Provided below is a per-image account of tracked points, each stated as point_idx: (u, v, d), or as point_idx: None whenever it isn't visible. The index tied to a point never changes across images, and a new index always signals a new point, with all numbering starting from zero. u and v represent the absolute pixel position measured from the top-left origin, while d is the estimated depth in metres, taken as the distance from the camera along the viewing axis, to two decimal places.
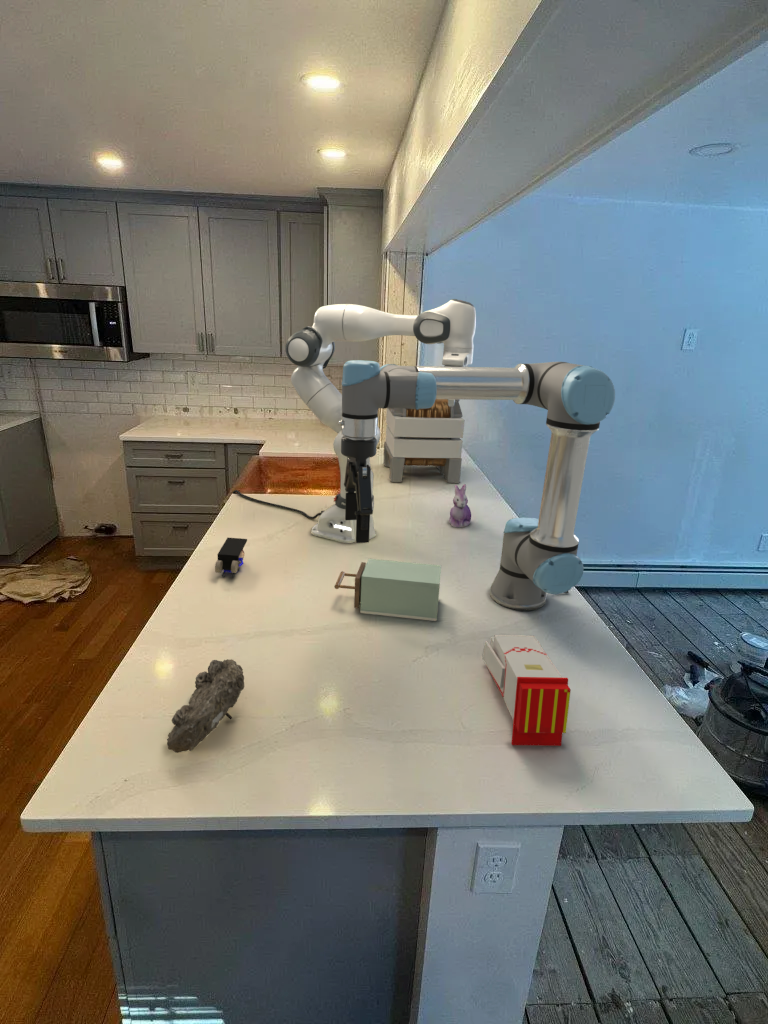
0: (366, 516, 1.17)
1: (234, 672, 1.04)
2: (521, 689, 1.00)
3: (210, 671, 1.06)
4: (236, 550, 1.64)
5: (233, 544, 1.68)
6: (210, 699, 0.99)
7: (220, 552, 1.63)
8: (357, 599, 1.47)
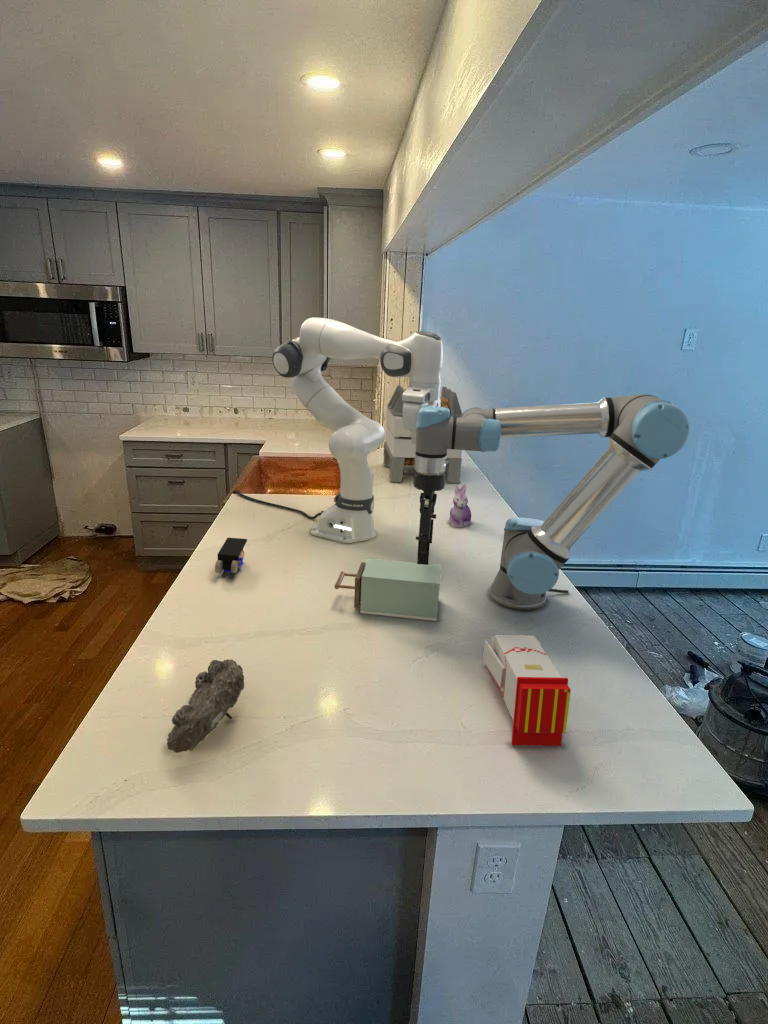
0: None
1: (234, 672, 1.04)
2: (521, 689, 1.00)
3: (210, 671, 1.06)
4: (236, 550, 1.64)
5: (233, 544, 1.68)
6: (210, 699, 0.99)
7: (220, 552, 1.63)
8: (357, 599, 1.47)
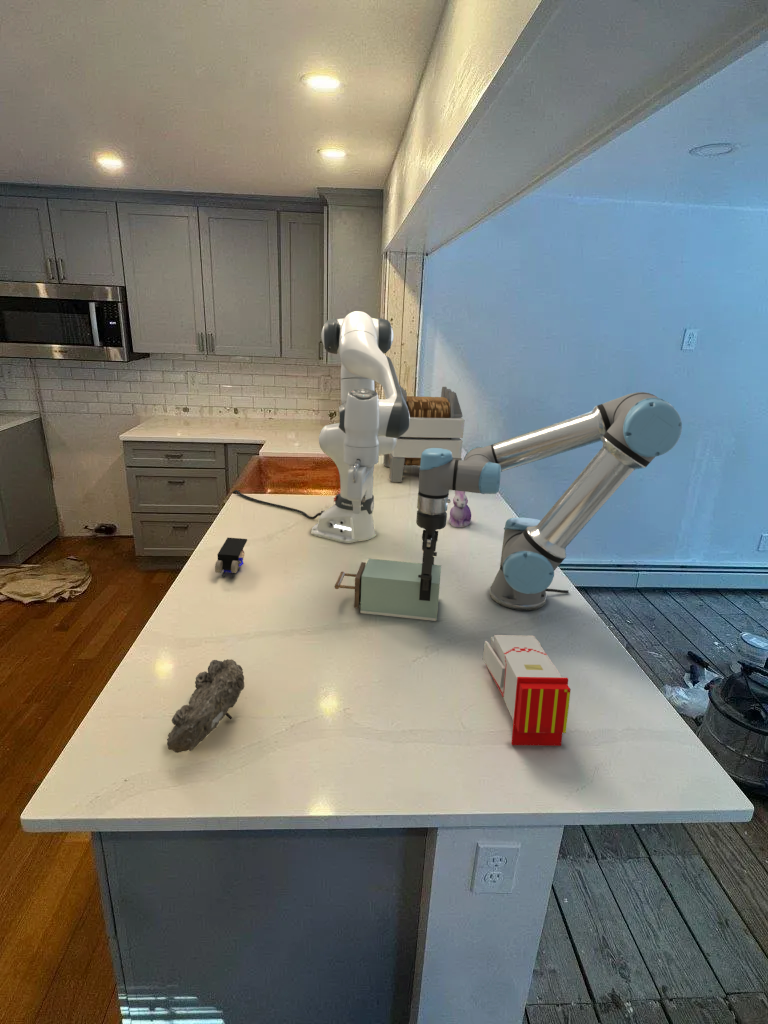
0: None
1: (234, 672, 1.04)
2: (521, 689, 1.00)
3: (210, 671, 1.06)
4: (236, 550, 1.64)
5: (233, 544, 1.68)
6: (210, 699, 0.99)
7: (220, 552, 1.63)
8: (357, 599, 1.47)
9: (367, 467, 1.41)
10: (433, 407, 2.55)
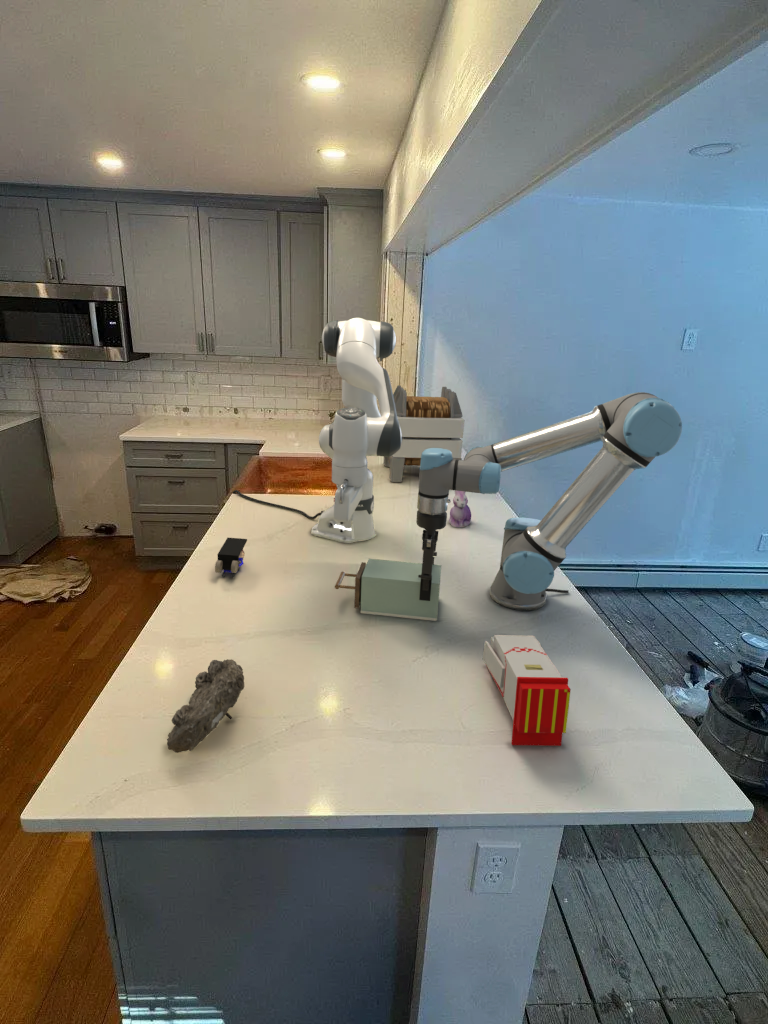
0: None
1: (234, 672, 1.04)
2: (521, 689, 1.00)
3: (210, 671, 1.06)
4: (236, 550, 1.64)
5: (233, 544, 1.68)
6: (210, 699, 0.99)
7: (220, 552, 1.63)
8: (357, 599, 1.47)
9: (355, 487, 1.39)
10: (433, 407, 2.55)
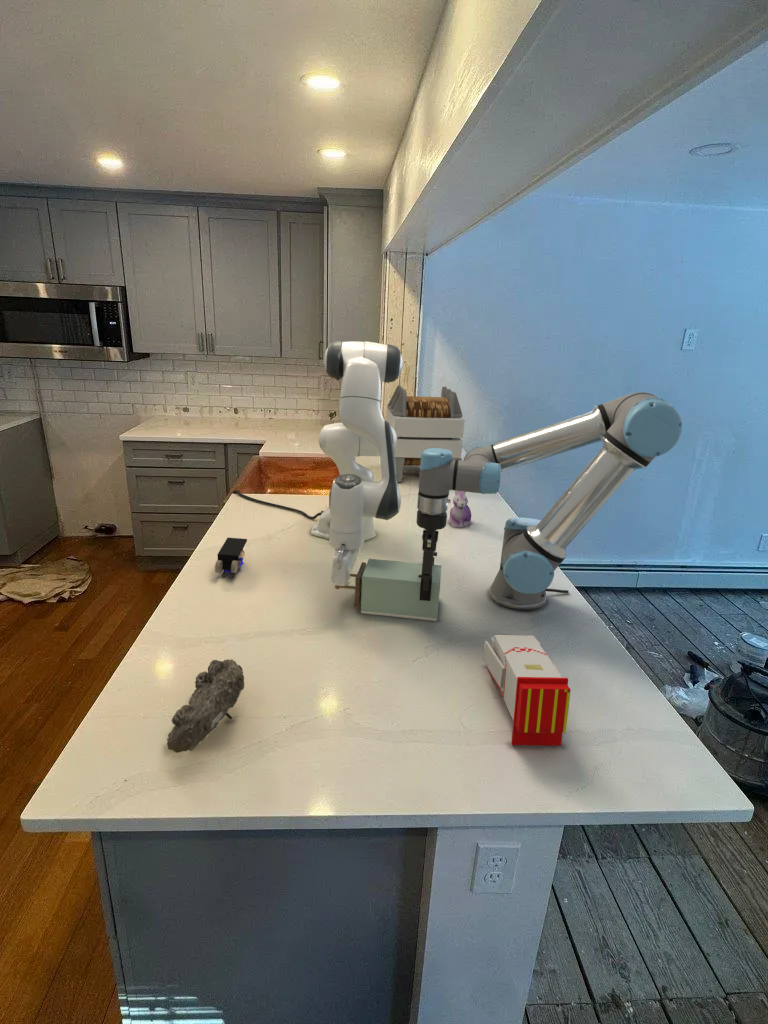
0: None
1: (234, 672, 1.04)
2: (521, 689, 1.00)
3: (210, 671, 1.06)
4: (236, 550, 1.64)
5: (233, 544, 1.68)
6: (210, 699, 0.99)
7: (220, 552, 1.63)
8: (357, 599, 1.47)
9: (352, 550, 1.45)
10: (433, 407, 2.55)
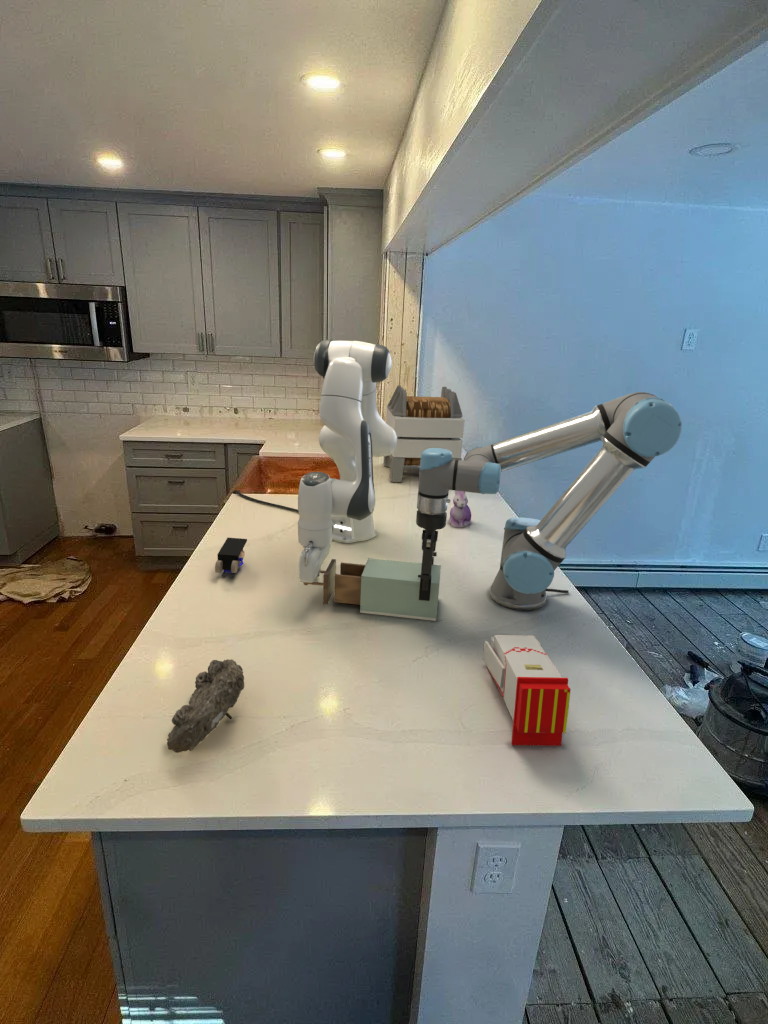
0: None
1: (234, 672, 1.04)
2: (521, 689, 1.00)
3: (210, 671, 1.06)
4: (236, 550, 1.64)
5: (233, 544, 1.68)
6: (210, 699, 0.99)
7: (220, 552, 1.63)
8: (326, 595, 1.48)
9: (320, 547, 1.46)
10: (433, 407, 2.55)
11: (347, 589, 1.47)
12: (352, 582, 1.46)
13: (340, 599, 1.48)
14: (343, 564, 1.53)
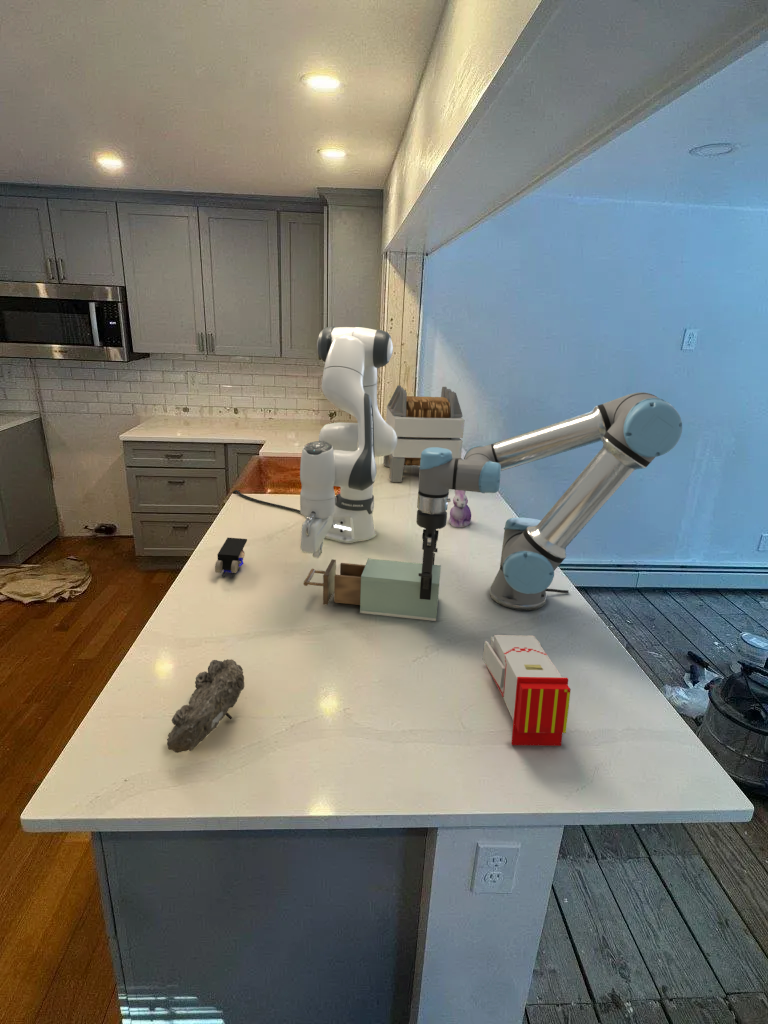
0: None
1: (234, 672, 1.04)
2: (521, 689, 1.00)
3: (210, 671, 1.06)
4: (236, 550, 1.64)
5: (233, 544, 1.68)
6: (210, 699, 0.99)
7: (220, 552, 1.63)
8: (326, 596, 1.48)
9: (323, 518, 1.43)
10: (433, 407, 2.55)
11: (347, 590, 1.47)
12: (352, 582, 1.46)
13: (340, 599, 1.48)
14: (343, 564, 1.53)
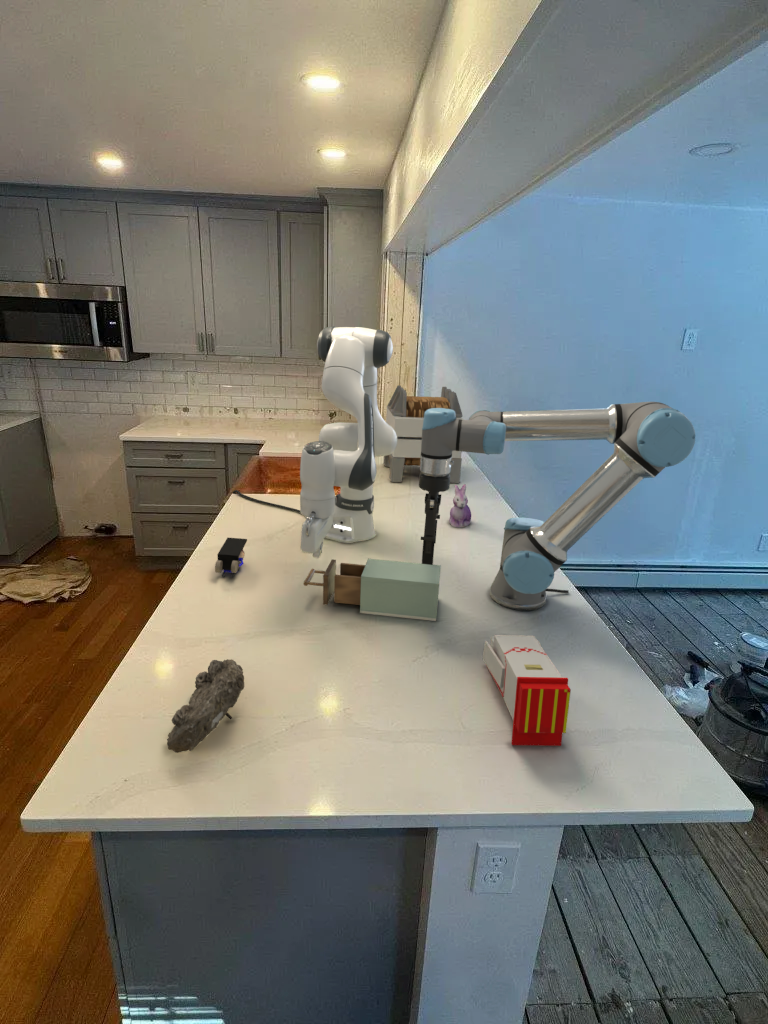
0: None
1: (234, 672, 1.04)
2: (521, 689, 1.00)
3: (210, 671, 1.06)
4: (236, 550, 1.64)
5: (233, 544, 1.68)
6: (210, 699, 0.99)
7: (220, 552, 1.63)
8: (326, 596, 1.48)
9: (323, 518, 1.43)
10: (433, 407, 2.55)
11: (347, 590, 1.47)
12: (352, 582, 1.46)
13: (340, 599, 1.48)
14: (343, 564, 1.53)
